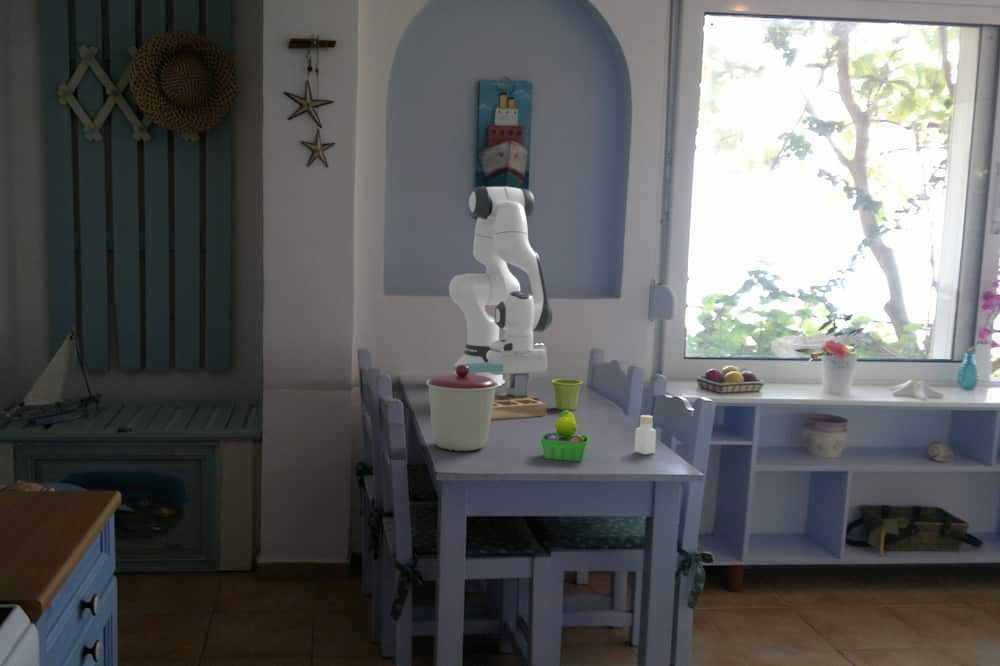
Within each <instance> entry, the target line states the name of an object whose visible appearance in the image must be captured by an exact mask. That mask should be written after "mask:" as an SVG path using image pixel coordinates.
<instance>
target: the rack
mask: <svg viewBox="0 0 1000 666" xmlns="http://www.w3.org/2000/svg"><path fill="white" fill-rule="evenodd" d="M547 408H548V405H547V403H546V402H542V401H540V400H539V401H536V400H533V399H530V398H524V399H509V400H495V399H494V402H493V409H492V416H491V421H492V420H493V421H494V420H507V419H508V420H509V419H518V418H519V419H520V418H531V417H541V416H542V417H543V416H547Z"/></svg>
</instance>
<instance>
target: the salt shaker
mask: <svg viewBox="0 0 1000 666" xmlns="http://www.w3.org/2000/svg"><path fill="white" fill-rule="evenodd" d="M639 418H640V419H639V420H640V421H639V423H640V424H639V427H637V428H636V429H635V439H634V453H638V454H641V455H652V454H655V452H656V444H657V443H656V440H657V430H656V429H654V428H653V423H654V421H653V419H654V417H653V416H652V415H649V414H641V415H640V417H639Z"/></svg>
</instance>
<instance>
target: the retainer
mask: <svg viewBox="0 0 1000 666" xmlns="http://www.w3.org/2000/svg"><path fill="white" fill-rule="evenodd" d="M464 365H467V366H468V367H469V369H470V371H469V374H474V375H476V373H480V372H499V371H503V365H492V364H489V363H475V364H464Z"/></svg>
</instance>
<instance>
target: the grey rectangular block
mask: <svg viewBox="0 0 1000 666" xmlns="http://www.w3.org/2000/svg"><path fill="white" fill-rule="evenodd" d="M509 381H510V382H511V383H513V385H512V388H506V393H507V396H509V397H513V398H521V397H527V394H528V387H527V383H528V375H527V374H525V373H523V374H510V378H509Z"/></svg>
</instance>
